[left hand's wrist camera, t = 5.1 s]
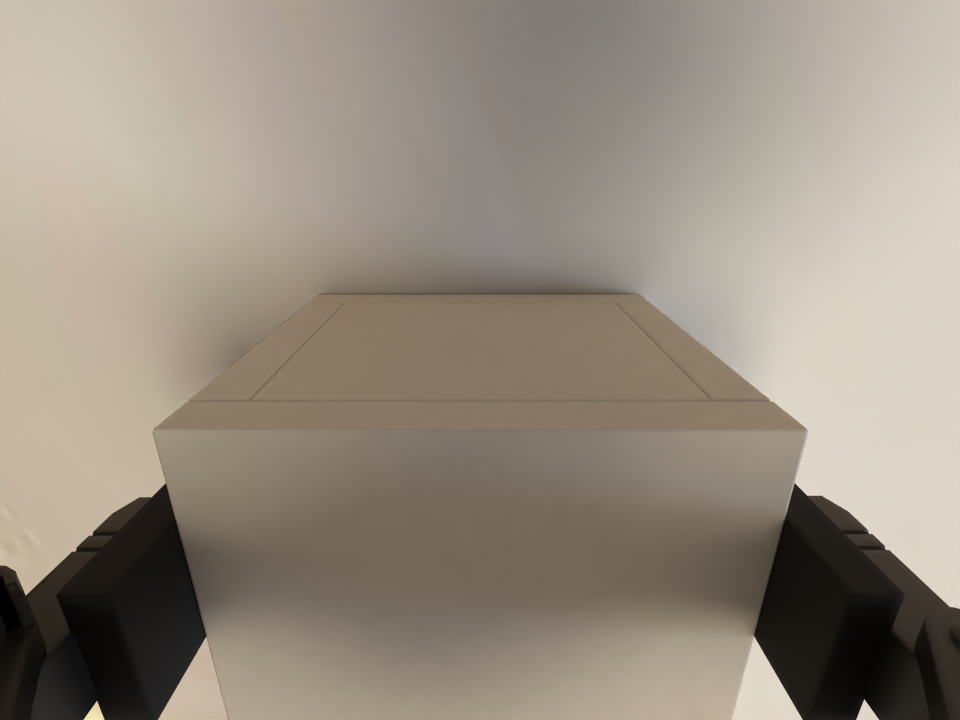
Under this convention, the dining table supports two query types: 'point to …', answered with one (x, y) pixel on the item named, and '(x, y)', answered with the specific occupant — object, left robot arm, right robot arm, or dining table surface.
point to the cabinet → (480, 512)
